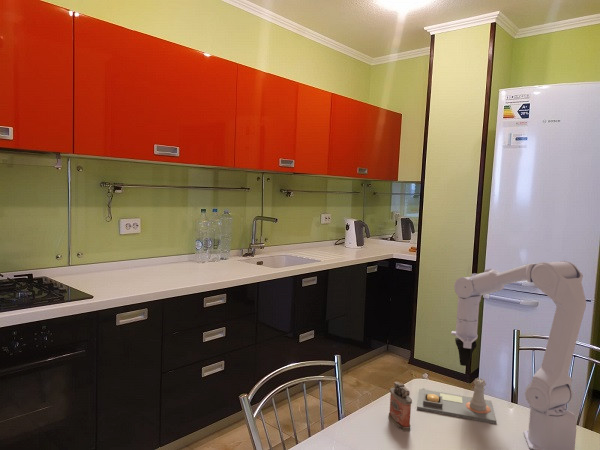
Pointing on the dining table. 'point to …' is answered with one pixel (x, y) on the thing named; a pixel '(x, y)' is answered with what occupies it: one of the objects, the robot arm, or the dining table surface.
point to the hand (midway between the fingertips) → (464, 364)
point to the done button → (432, 398)
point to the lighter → (400, 406)
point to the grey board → (455, 406)
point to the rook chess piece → (478, 396)
